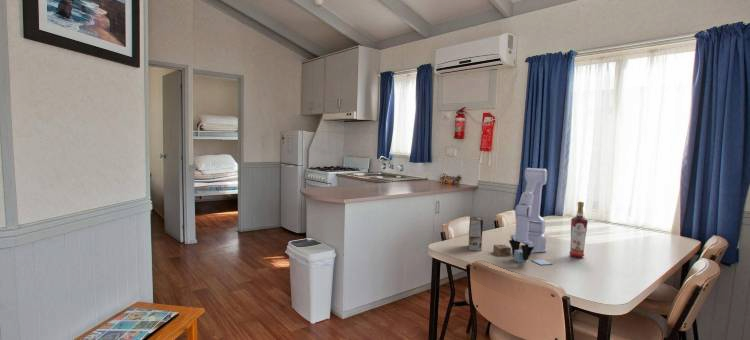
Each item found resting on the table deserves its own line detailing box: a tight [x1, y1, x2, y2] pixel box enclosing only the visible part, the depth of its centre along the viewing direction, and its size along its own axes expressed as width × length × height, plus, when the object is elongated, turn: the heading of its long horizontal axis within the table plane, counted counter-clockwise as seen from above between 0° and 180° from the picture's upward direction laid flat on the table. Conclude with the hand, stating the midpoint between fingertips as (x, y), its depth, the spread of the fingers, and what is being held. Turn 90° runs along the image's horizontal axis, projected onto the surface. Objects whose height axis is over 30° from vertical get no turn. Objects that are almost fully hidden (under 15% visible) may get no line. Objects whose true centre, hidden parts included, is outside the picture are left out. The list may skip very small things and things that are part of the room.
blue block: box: [513, 250, 527, 264], centre depth 178 cm, size 4×4×5 cm
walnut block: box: [492, 244, 512, 257], centre depth 189 cm, size 6×6×4 cm
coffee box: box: [468, 216, 484, 252], centre depth 197 cm, size 9×6×16 cm
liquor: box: [568, 201, 589, 259], centre depth 187 cm, size 7×7×28 cm
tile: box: [530, 258, 554, 266], centre depth 177 cm, size 7×7×1 cm
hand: (520, 257), depth 178 cm, fingers open, 7 cm apart
